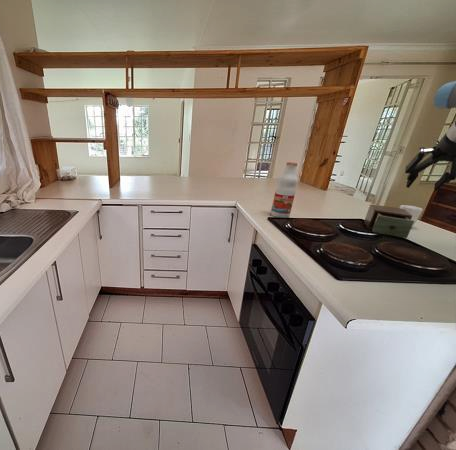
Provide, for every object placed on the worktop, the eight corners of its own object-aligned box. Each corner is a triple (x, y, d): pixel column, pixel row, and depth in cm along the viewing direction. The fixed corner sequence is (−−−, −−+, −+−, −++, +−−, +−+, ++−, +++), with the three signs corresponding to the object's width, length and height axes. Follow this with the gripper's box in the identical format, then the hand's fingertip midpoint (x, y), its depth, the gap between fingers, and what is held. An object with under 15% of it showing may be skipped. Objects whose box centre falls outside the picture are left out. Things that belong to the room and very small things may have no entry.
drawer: (407, 239, 99) (415, 221, 97) (372, 232, 105) (378, 216, 103) (399, 229, 111) (405, 214, 108) (368, 224, 117) (373, 209, 114)
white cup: (400, 227, 117) (409, 208, 114) (388, 222, 124) (396, 204, 121) (418, 229, 116) (427, 210, 112) (405, 224, 123) (413, 205, 120)
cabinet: (403, 235, 106) (412, 215, 103) (367, 229, 113) (374, 210, 109) (396, 227, 117) (403, 208, 114) (363, 221, 124) (370, 204, 121)
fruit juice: (289, 214, 130) (301, 162, 120) (289, 219, 122) (303, 164, 112) (270, 212, 134) (281, 161, 124) (269, 216, 126) (281, 162, 116)
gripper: (415, 143, 70) (384, 190, 88) (521, 147, 60) (461, 199, 78) (417, 126, 73) (387, 174, 91) (520, 126, 62) (462, 181, 81)
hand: (421, 185), depth 84 cm, fingers open, 6 cm apart
